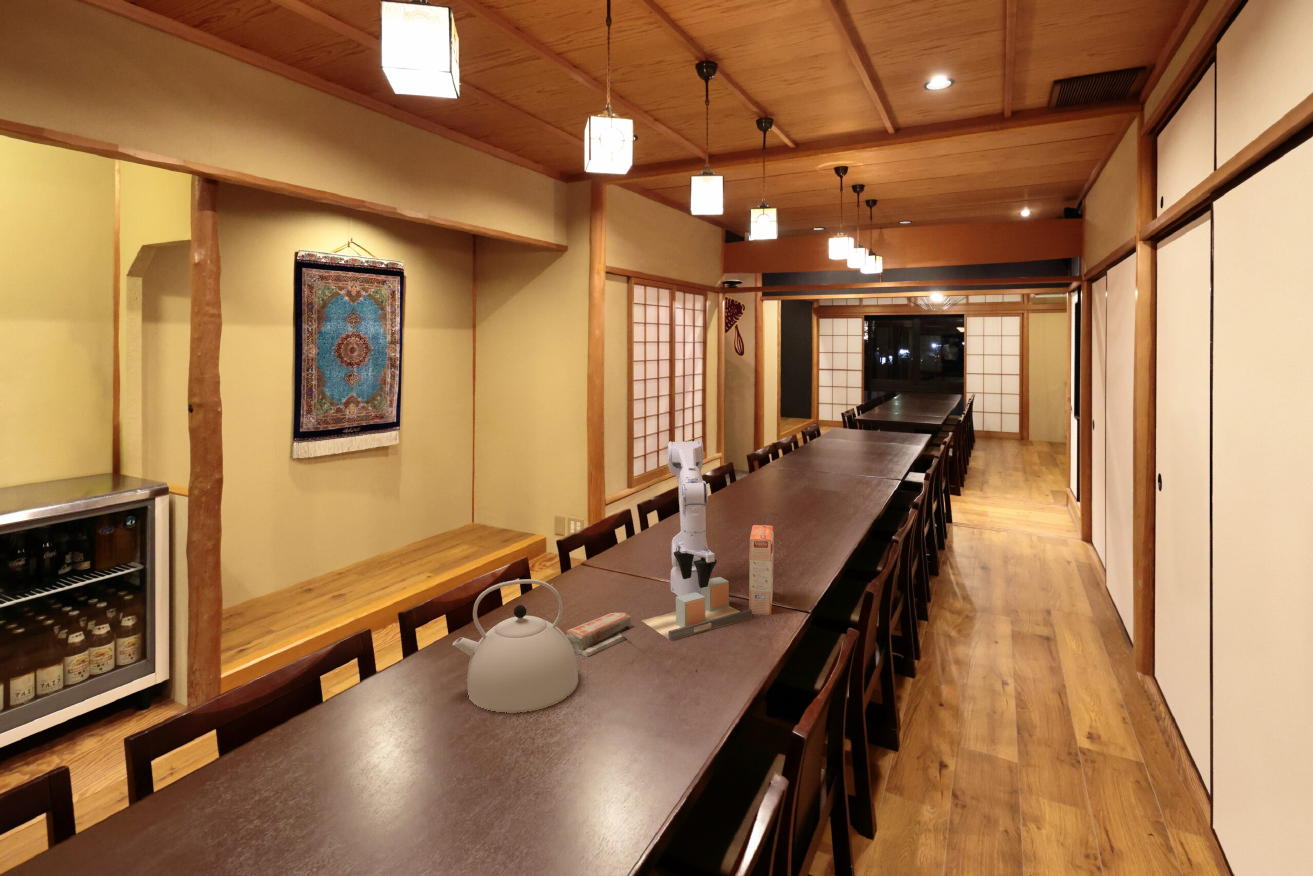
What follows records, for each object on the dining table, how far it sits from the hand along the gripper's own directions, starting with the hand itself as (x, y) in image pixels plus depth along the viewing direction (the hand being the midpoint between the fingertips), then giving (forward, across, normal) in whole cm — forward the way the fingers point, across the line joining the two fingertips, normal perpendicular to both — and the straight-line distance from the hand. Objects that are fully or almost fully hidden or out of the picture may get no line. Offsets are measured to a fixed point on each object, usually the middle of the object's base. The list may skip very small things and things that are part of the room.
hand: (695, 582), depth 169 cm
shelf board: (+10, +2, -1) cm, 10 cm away
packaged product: (+11, -3, -25) cm, 27 cm away
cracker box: (+10, +3, +19) cm, 22 cm away
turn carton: (+9, +4, -4) cm, 10 cm away
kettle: (+10, +7, -49) cm, 51 cm away
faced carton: (+9, -2, +7) cm, 12 cm away
